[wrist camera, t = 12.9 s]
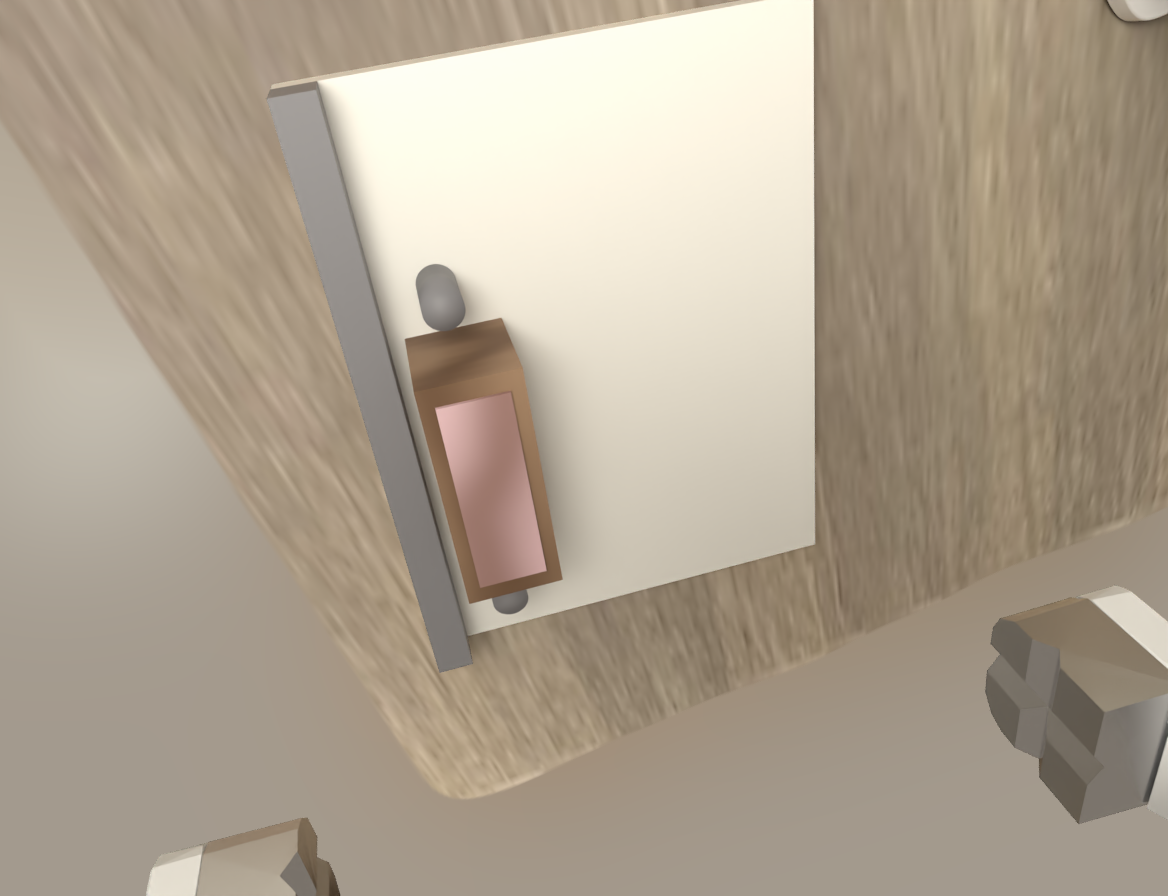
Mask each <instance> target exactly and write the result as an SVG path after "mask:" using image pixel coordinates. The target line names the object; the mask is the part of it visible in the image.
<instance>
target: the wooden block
mask: <svg viewBox="0 0 1168 896" xmlns="http://www.w3.org/2000/svg"><path fill="white" fill-rule="evenodd" d="M405 344H406V350H407V356H408V362H409V368H410V374H411V380H412V386H413V392H414V396H415V400H416V403H417V407H418V411H419V415H420V419H421V422H422V426H423V430H424V434H425V438H426V441H427V445H428V449H429V453H430V457H431V460H432V464H433V468H434V472H435V476H436V479H437V483H438V487H439V491H440V495H441V498H442V502H443V506H444V510H445V514H446V517H447V521H448V525H449V529H450V533H451V536H452V540H453V544H454V548H455V552H456V555H457V559H458V563H459V567H460V571H461V574H462V578H463V582H464V586H465V590H466V593H467V597H468V601H469V604H472V603H476V602H479V601H483V600H487V599H491V598H495V597H499V596H503V595H506V594H510V593H514V592H518V591H522V590H526V589H530V588H533V587H537V586H541V585H545V584H549V583H553V582H556V581H560V580H563V578H562V573H561V567H560V562H559V557H558V552H557V546H556V541H555V536H554V530H553V525H552V520H551V515H550V509H549V504H548V499H547V494H546V488H545V483H544V478H543V472H542V467H541V462H540V457H539V451H538V446H537V441H536V435H535V430H534V425H533V420H532V414H531V409H530V404H529V398H528V393H527V388H526V383H525V377H524V372H523V367H522V365H521V363H520V360H519V358H518V355H517V353H516V351H515V348H514V346H513V344H512V341H511V339H510V337H509V334H508V332H507V330H506V327H505V325H504V322H503V320H502V318H497V319H493V320H488V321H484V322H479V323H475V324H470V325H465V326H461V327H456V328H454V329H452V330H449V331H438V332H433V333H429V334H424V335H420V336H415V337H411V338H406V339H405Z"/></svg>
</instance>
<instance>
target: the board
mask: <svg viewBox="0 0 1168 896" xmlns="http://www.w3.org/2000/svg"><path fill="white" fill-rule="evenodd" d="M267 102H268V105H269V108H270V111H271V115H272V118H273V121H274V125H275V128H276V131H277V135H278V138H279V141H280V145H281V148H282V151H283V155H284V158H285V161H286V165H287V168H288V171H289V175H290V178H291V181H292V184H293V188H294V191H295V194H296V198H297V201H298V204H299V208H300V211H301V214H302V218H303V221H304V224H305V228H306V231H307V234H308V238H309V241H310V244H311V247H312V251H313V254H314V257H315V261H316V264H317V267H318V271H319V274H320V277H321V281H322V284H323V287H324V291H325V294H326V297H327V301H328V304H329V307H330V310H331V314H332V317H333V320H334V324H335V327H336V330H337V334H338V337H339V340H340V344H341V347H342V350H343V354H344V357H345V360H346V364H347V367H348V370H349V374H350V377H351V380H352V383H353V387H354V390H355V393H356V397H357V400H358V403H359V407H360V410H361V413H362V417H363V420H364V423H365V427H366V430H367V433H368V437H369V440H370V443H371V446H372V450H373V453H374V456H375V460H376V463H377V466H378V470H379V473H380V476H381V480H382V483H383V486H384V490H385V493H386V496H387V500H388V503H389V506H390V510H391V513H392V516H393V519H394V523H395V526H396V529H397V533H398V536H399V539H400V543H401V546H402V549H403V553H404V556H405V559H406V563H407V566H408V569H409V573H410V576H411V579H412V582H413V586H414V589H415V592H416V596H417V599H418V602H419V606H420V609H421V612H422V616H423V619H424V622H425V626H426V629H427V632H428V636H429V639H430V642H431V645H432V649H433V652H434V655H435V659H436V662H437V665H438V669H439V672H440V673H441V672H444V671H448V670H452V669H455V668H459V667H463V666H467V665H470V664H473V662H472V656H471V651H470V646H469V640H468V636H470V635H474V634H478V633H481V632H485V631H489V630H493V629H497V628H500V627H504V626H508V625H512V624H515V623H519V622H523V621H527V620H531V619H534V618H538V617H542V616H546V615H549V614H553V613H557V612H561V611H565V610H568V609H572V608H576V607H580V606H583V605H587V604H591V603H595V602H599V601H602V600H606V599H610V598H614V597H617V596H621V595H625V594H629V593H633V592H636V591H640V590H644V589H648V588H651V587H655V586H659V585H663V584H667V583H670V582H674V581H678V580H682V579H686V578H689V577H693V576H697V575H701V574H704V573H708V572H712V571H716V570H720V569H723V568H727V567H731V566H735V565H738V564H742V563H746V562H750V561H754V560H757V559H761V558H765V557H769V556H772V555H776V554H780V553H784V552H788V551H791V550H795V549H799V548H803V547H806V546H810V545H814V544H815V339H814V21H813V0H739V1H734V2H728V3H722V4H717V5H711V6H706V7H700V8H695V9H689V10H683V11H678V12H672V13H667V14H661V15H656V16H650V17H644V18H639V19H633V20H628V21H622V22H617V23H611V24H605V25H600V26H594V27H589V28H583V29H578V30H572V31H566V32H561V33H555V34H550V35H544V36H539V37H533V38H527V39H522V40H516V41H511V42H505V43H500V44H494V45H488V46H483V47H477V48H472V49H466V50H461V51H455V52H450V53H444V54H438V55H433V56H427V57H422V58H416V59H411V60H405V61H399V62H394V63H388V64H383V65H377V66H372V67H366V68H360V69H355V70H349V71H344V72H338V73H333V74H327V75H321V76H316V77H310V78H305V79H299V80H294V81H288V82H282V83H277V84H272V87H271V89H270V92H269V94H268V97H267ZM497 318H502V320H503V322H504V325H505V327H506V330H507V332H508V334H509V337H510V339H511V341H512V344H513V346H514V348H515V351H516V353H517V355H518V358H519V360H520V363H521V365H522V367H523V372H524V377H525V383H526V388H527V393H528V398H529V404H530V409H531V414H532V420H533V425H534V430H535V435H536V441H537V446H538V451H539V457H540V462H541V467H542V472H543V478H544V483H545V488H546V494H547V499H548V504H549V509H550V515H551V520H552V525H553V530H554V536H555V541H556V546H557V552H558V557H559V562H560V567H561V573H562V578H563V580H560V581H556V582H553V583H549V584H545V585H541V586H537V587H533V588H530V589H526V590H522V591H518V592H514V593H510V594H506V595H503V596H499V597H495V598H491V599H487V600H483V601H479V602H476V603H472V604H469V601H468V597H467V593H466V590H465V586H464V582H463V578H462V574H461V571H460V567H459V563H458V559H457V555H456V552H455V548H454V544H453V540H452V536H451V533H450V529H449V525H448V521H447V517H446V514H445V510H444V506H443V502H442V498H441V495H440V491H439V487H438V483H437V479H436V476H435V472H434V468H433V464H432V460H431V457H430V453H429V449H428V445H427V441H426V438H425V434H424V430H423V426H422V422H421V419H420V415H419V411H418V407H417V403H416V400H415V396H414V392H413V386H412V380H411V374H410V368H409V362H408V356H407V350H406V344H405V339H406V338H411V337H415V336H420V335H424V334H429V333H433V332H438V331H449V330H452V329H454V328H456V327H461V326H465V325H470V324H475V323H479V322H484V321H488V320H493V319H497Z"/></svg>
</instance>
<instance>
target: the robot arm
mask: <svg viewBox="0 0 1168 896" xmlns="http://www.w3.org/2000/svg"><path fill="white" fill-rule="evenodd" d="M1107 1H1108V3H1109V5H1110V7H1111V8H1112V10H1113V11H1114V13H1115V14H1116V15H1117V16H1118V17H1119V18H1121V19H1122V20H1125V21H1148V20H1153V19H1156V18H1159V17H1161V16H1164V15H1166V14H1168V0H1107ZM991 644H992V645H993V647H994V648H995V649H996V650H997V651H998V652H999V653H1000V655H999V656H998V658H997V659H996V660H995V662H994V663H993V664H992V665H991V666H990V668H989V669H988V670H987V678H986V690H985V692H986V695H987V699H988V703H989V706H990V710H991V713H992V715H993V717H994V719H995V721H996V722H997V724H998V726H999V728H1000V730H1001V731H1002V732H1003V734H1004V735H1005V736H1006V737H1007V739H1008V740H1009V741H1010V742H1011V743H1012V745H1013V746H1014V747H1015V748H1017V749H1019V750H1021V751H1023V752H1026V753H1028V754H1030V755H1032V756H1034V757H1036V758H1039V777H1040V779H1041V780H1042V781H1043V782H1044V783H1045V785H1046V786H1047V787H1048V788H1049V789H1050V791H1051V792H1052V793H1053V794H1054V795H1055V797H1056V798H1057V799H1058V800H1059V801H1060V802H1061V803H1062V805H1063V806H1064V807H1065V808H1066V810H1067V811H1068V812H1069V813H1070V814H1071V816H1072V817H1073V818H1074V819H1075V820H1076V822H1077V823H1078V824H1080V823H1084V822H1087V821H1090V820H1094V819H1098V818H1101V817H1105V816H1108V815H1112V814H1115V813H1119V812H1122V811H1126V810H1129V809H1133V808H1136V807H1139V806H1143V805H1147V804H1148V806H1147V809H1148V810H1150V811H1152V812H1154V813H1156V814H1157V815H1159V816H1161V817H1163V818H1164V819H1166V820H1168V622H1167V621H1166V620H1165V619H1164V618H1163V617H1161V616H1160V615H1159V614H1158V613H1157V612H1155V611H1154V610H1153V609H1152V608H1150V607H1149V606H1148V605H1147V604H1146V603H1144V602H1143V601H1142V600H1141V599H1139V598H1138V597H1137V596H1136V595H1135V594H1134V593H1132V592H1131V591H1129V590H1128V589H1125V588H1123V587H1120V586H1117V585H1115V586H1111V587H1108V588H1105V589H1101V590H1098V591H1094V592H1090V593H1087V594H1084V595H1080V596H1077V597H1075V598H1067V599H1064V600H1061V601H1057V602H1054V603H1051V604H1047V605H1044V606H1041V607H1037V608H1034V609H1030V610H1027V611H1024V612H1020V613H1017V614H1014V615H1011V616H1007V617H1004V618H1000V619H999V621H998V622H997V623H996V625H995V626H994V627H993V632H992V638H991ZM146 896H340V892H339V889H338V885H337V882H336V878H335V875H334V873H333V871H332V868H331V866H330V864H329V862H327V861H324V860H322V859H320V858H318V857H317V835H316V833H315V832H314V830H313V828H312V825H311V824H310V822H309V820H308V818H300V819H296V820H292V821H288V822H284V823H280V824H276V825H272V826H268V827H265V828H261V829H257V830H253V831H249V832H245V833H241V834H237V835H233V836H229V837H226V838H222V839H218V840H214V841H210V842H208V843H204V844H200V845H197V846H193V847H189V848H186V849H182V850H178V851H174V852H170V853H167V854H163V855H160V856H159V858H158V860H157V861H156V863H155V865H154V867H153V869H152V870H151V873H150V878H149V883H148V888H147V893H146Z"/></svg>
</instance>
